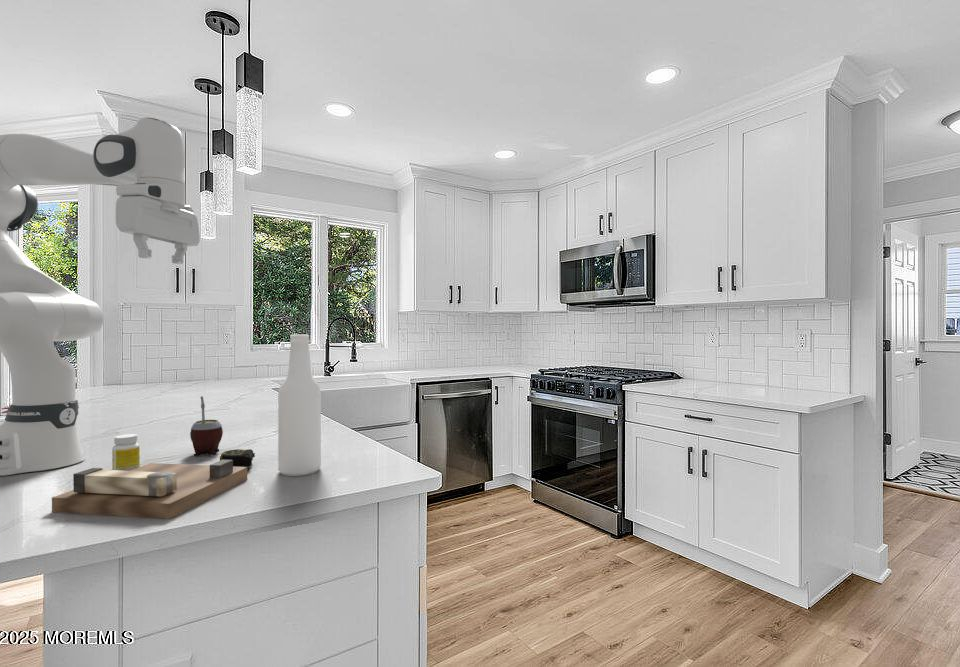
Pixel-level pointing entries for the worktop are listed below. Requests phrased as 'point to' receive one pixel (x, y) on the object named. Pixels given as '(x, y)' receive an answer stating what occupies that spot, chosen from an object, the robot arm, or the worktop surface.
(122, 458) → the supplement bottle
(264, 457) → the worktop surface
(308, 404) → the alcohol
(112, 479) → the folding leg
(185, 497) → the wooden cutting board
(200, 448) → the mate gourd
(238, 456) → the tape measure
